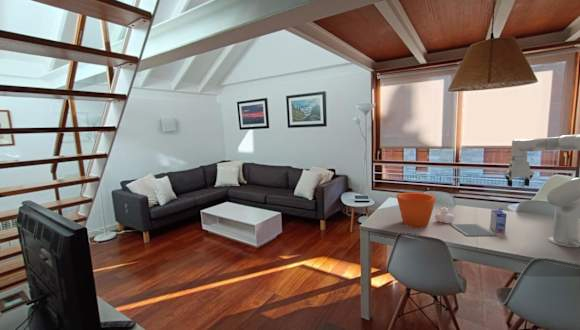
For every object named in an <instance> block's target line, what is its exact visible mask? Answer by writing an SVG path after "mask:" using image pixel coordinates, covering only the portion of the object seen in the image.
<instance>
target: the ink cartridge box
mask: <svg viewBox="0 0 580 330" xmlns="http://www.w3.org/2000/svg"><path fill="white" fill-rule="evenodd" d="M503 209H504V208H502V207H500V208H499V209H491V211H490V213H491V214H490V222H489V227H490V229H491V230H492V231H494V233H503V234H505V233H506V226H507V225H506V223H507V213H505V212H504V211H503Z"/></svg>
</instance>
